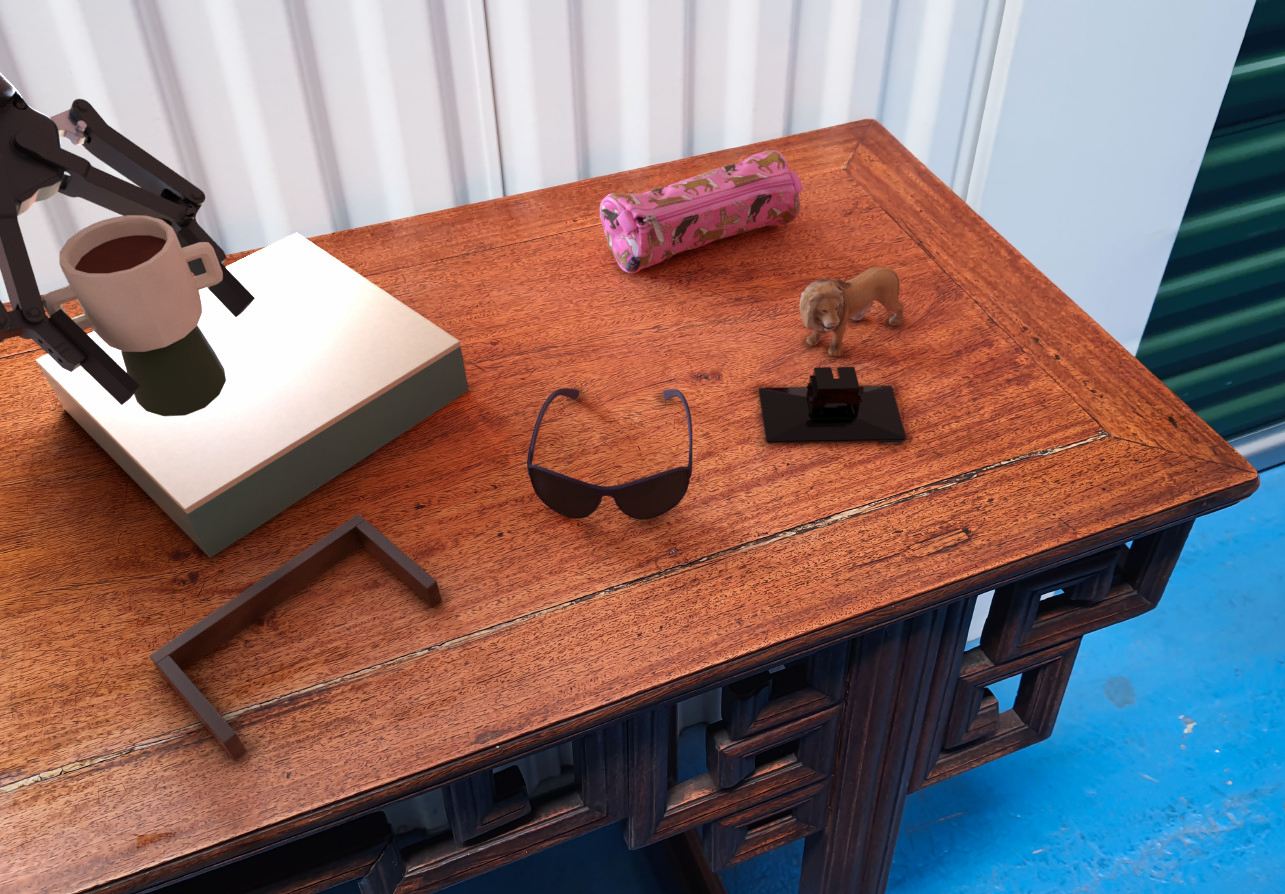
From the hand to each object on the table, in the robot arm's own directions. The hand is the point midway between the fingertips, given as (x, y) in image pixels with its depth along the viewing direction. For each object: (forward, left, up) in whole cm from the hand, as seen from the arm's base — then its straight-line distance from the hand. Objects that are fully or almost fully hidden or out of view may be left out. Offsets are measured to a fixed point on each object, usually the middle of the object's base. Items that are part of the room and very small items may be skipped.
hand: (190, 349), depth 68 cm
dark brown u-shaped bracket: (-4, -12, -19) cm, 23 cm away
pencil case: (+55, 0, -19) cm, 58 cm away
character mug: (-1, +3, -6) cm, 6 cm away
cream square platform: (+9, +14, -19) cm, 25 cm away
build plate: (+42, -26, -19) cm, 53 cm away
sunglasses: (+25, -15, -19) cm, 35 cm away
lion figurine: (+52, -21, -19) cm, 59 cm away
